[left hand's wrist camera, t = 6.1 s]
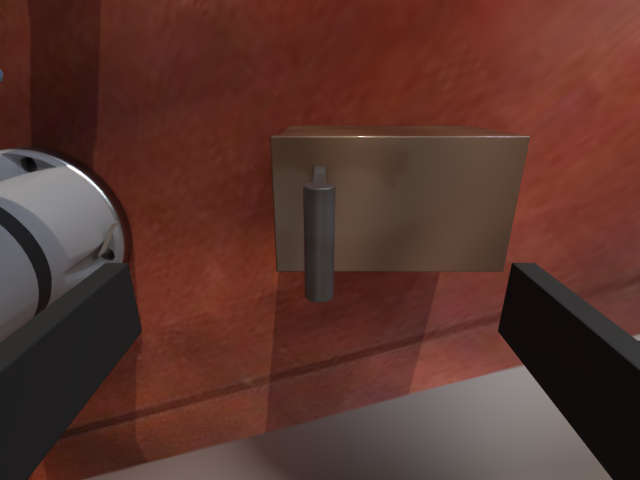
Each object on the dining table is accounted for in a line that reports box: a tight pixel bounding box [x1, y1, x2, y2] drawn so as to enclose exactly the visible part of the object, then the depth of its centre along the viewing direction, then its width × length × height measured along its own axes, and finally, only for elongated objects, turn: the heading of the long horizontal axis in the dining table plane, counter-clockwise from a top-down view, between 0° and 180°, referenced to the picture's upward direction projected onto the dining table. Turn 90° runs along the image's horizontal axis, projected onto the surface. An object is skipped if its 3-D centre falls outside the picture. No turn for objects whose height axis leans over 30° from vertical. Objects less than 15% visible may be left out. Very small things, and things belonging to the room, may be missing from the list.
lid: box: [270, 135, 530, 302], centre depth 21 cm, size 16×9×8 cm, turn 90°
